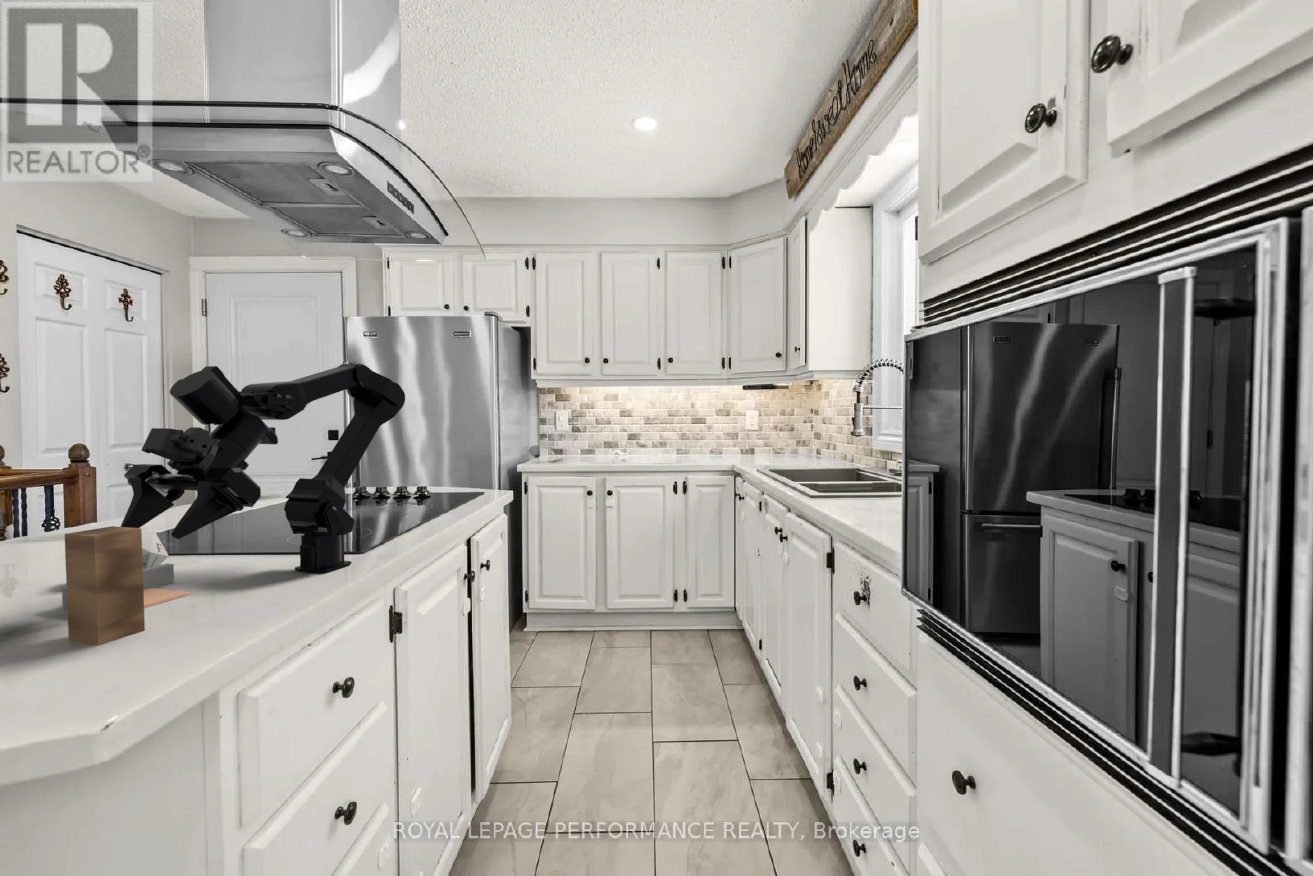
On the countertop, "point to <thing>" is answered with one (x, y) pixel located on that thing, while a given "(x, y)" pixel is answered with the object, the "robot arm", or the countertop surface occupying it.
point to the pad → (160, 596)
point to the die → (152, 549)
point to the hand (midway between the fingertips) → (148, 535)
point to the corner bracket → (145, 579)
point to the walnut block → (104, 584)
